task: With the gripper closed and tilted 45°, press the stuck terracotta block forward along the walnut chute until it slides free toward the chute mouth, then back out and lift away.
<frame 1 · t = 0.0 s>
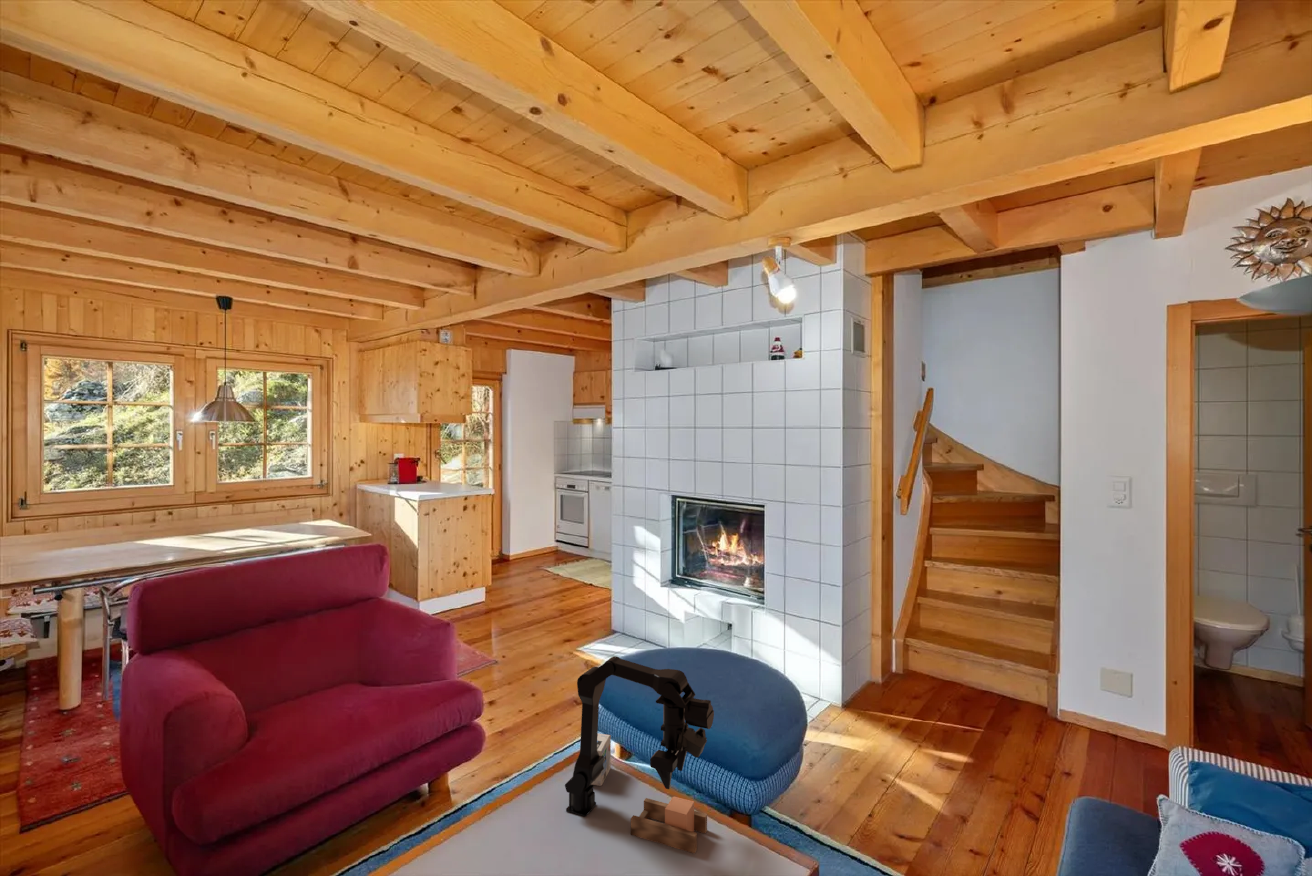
hand: (674, 779, 160), 15 cm above the table, tool pointing down, fingers open, 9 cm apart
walnut chute: (669, 833, 160), on the table
light bulb box: (596, 776, 187), on the table
terracotta block: (679, 820, 159), point 4 cm above the table, slide at 0.0 cm
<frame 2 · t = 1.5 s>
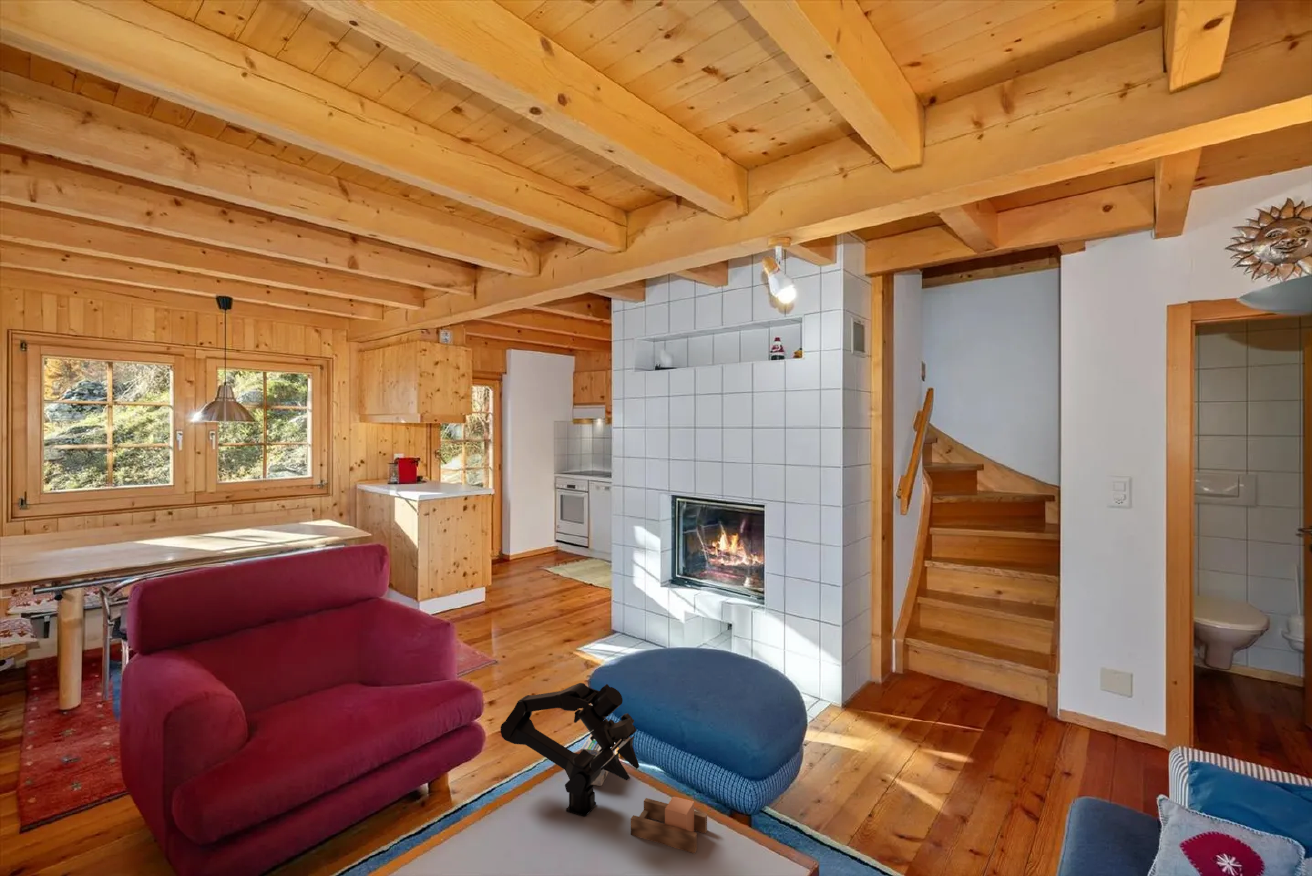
hand: (633, 773, 164), 14 cm above the table, tool tilted 45°, fingers open, 6 cm apart
nothing on the table moved.
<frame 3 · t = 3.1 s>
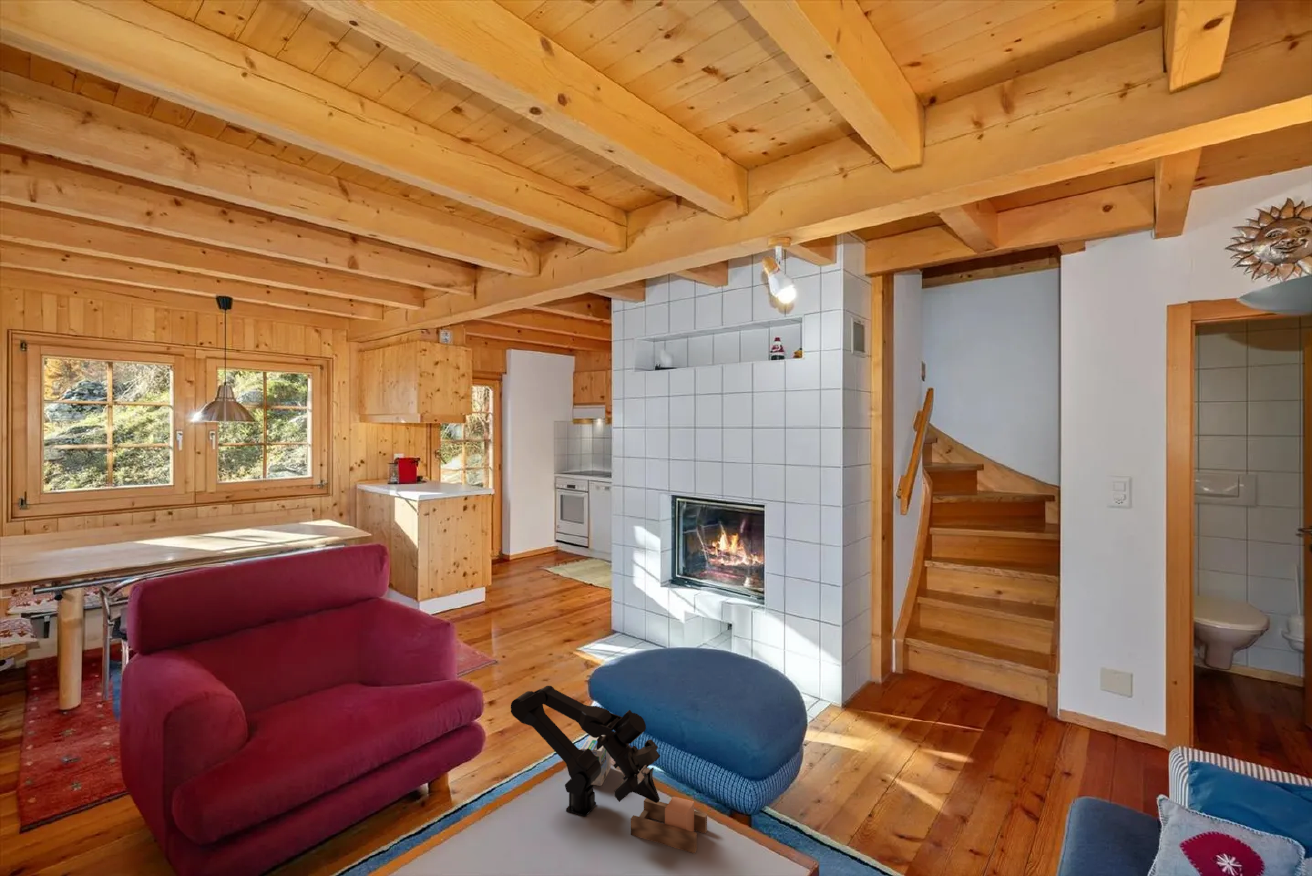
hand: (658, 801, 161), 8 cm above the table, tool tilted 45°, fingers closed
nothing on the table moved.
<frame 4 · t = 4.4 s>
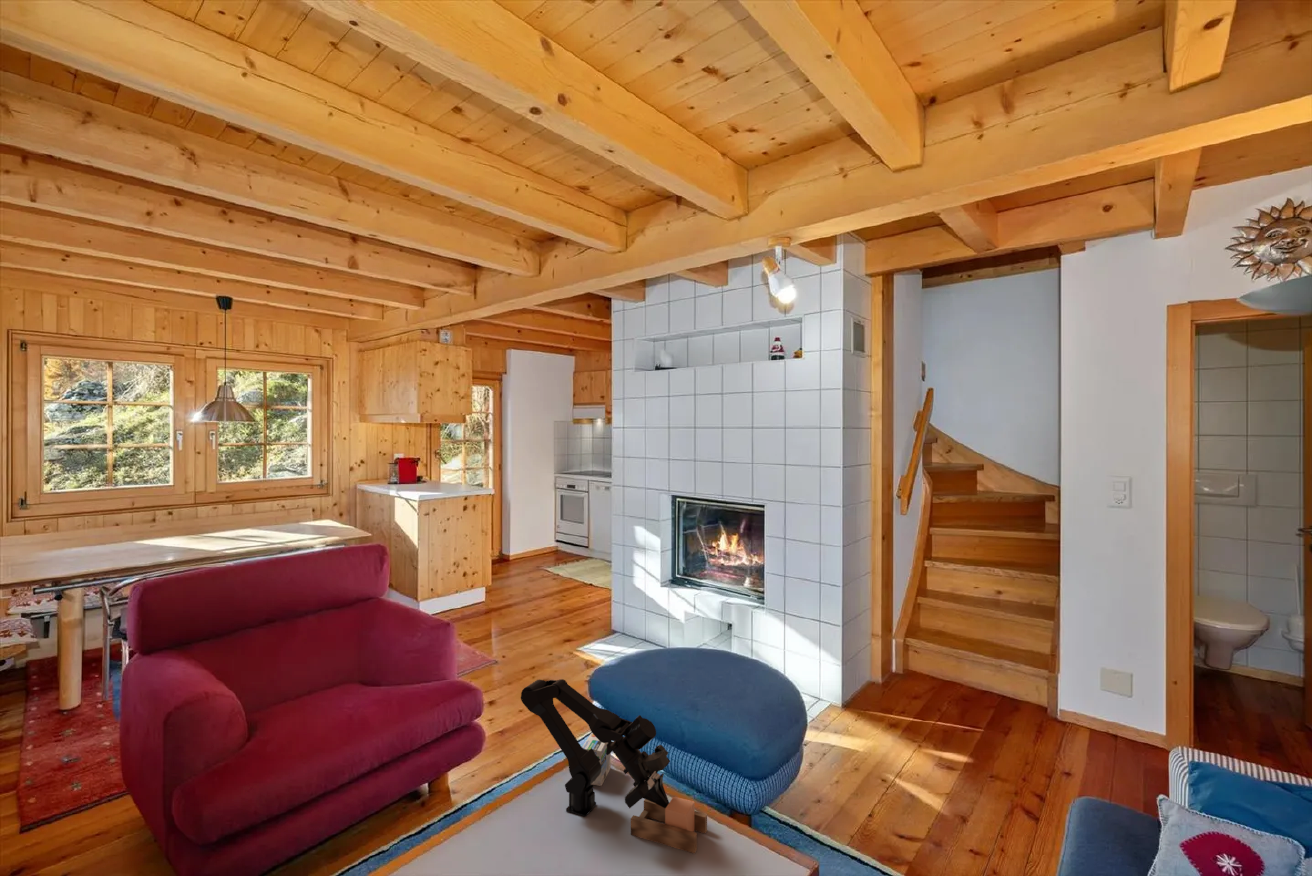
hand: (668, 807, 160), 7 cm above the table, tool tilted 45°, fingers closed, pressing on terracotta block
terracotta block: (679, 820, 159), point 4 cm above the table, slide at 0.1 cm, touching gripper
everything else where it was.
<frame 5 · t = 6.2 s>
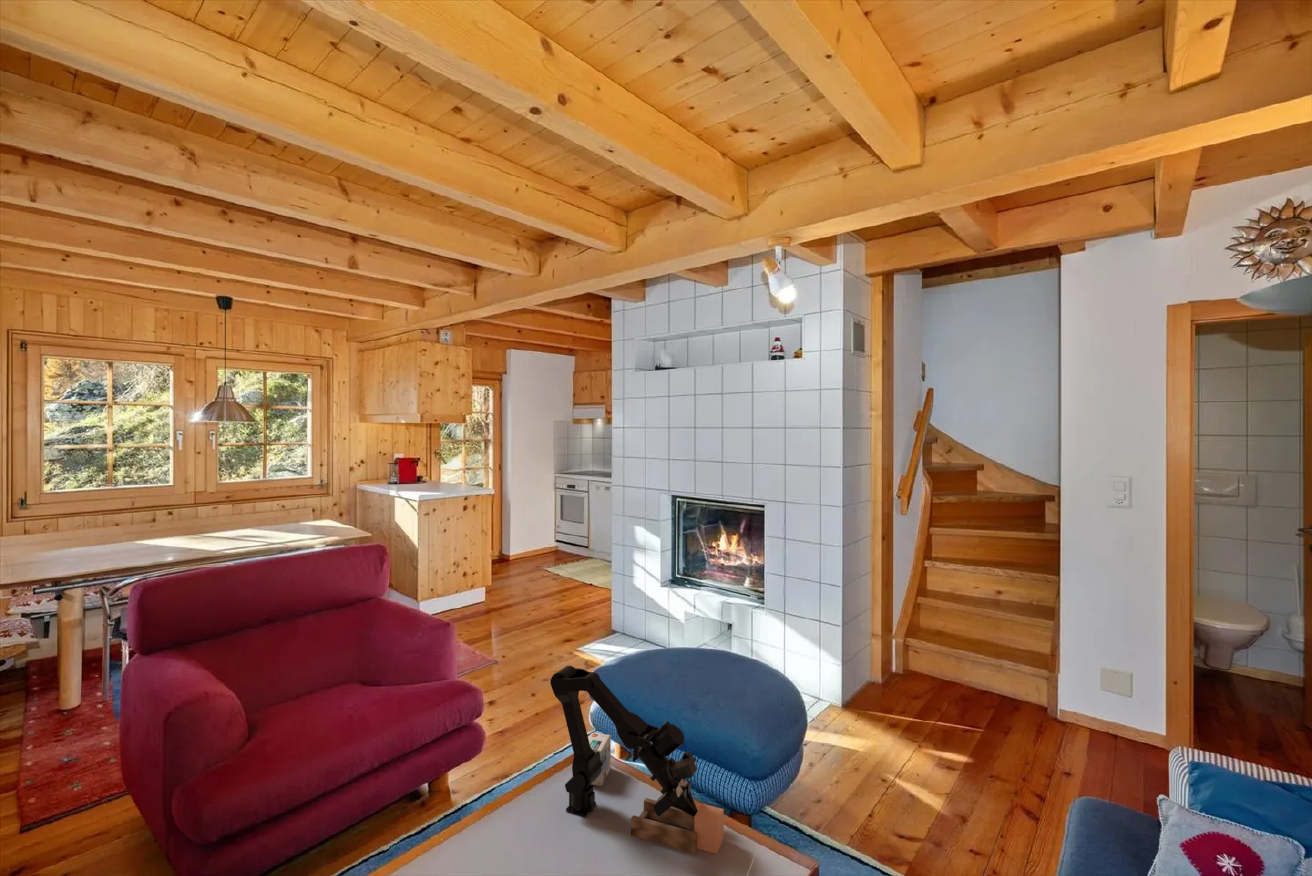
hand: (697, 815, 157), 7 cm above the table, tool tilted 45°, fingers closed
terracotta block: (709, 828, 156), point 4 cm above the table, slide at 8.2 cm
everything else where it was.
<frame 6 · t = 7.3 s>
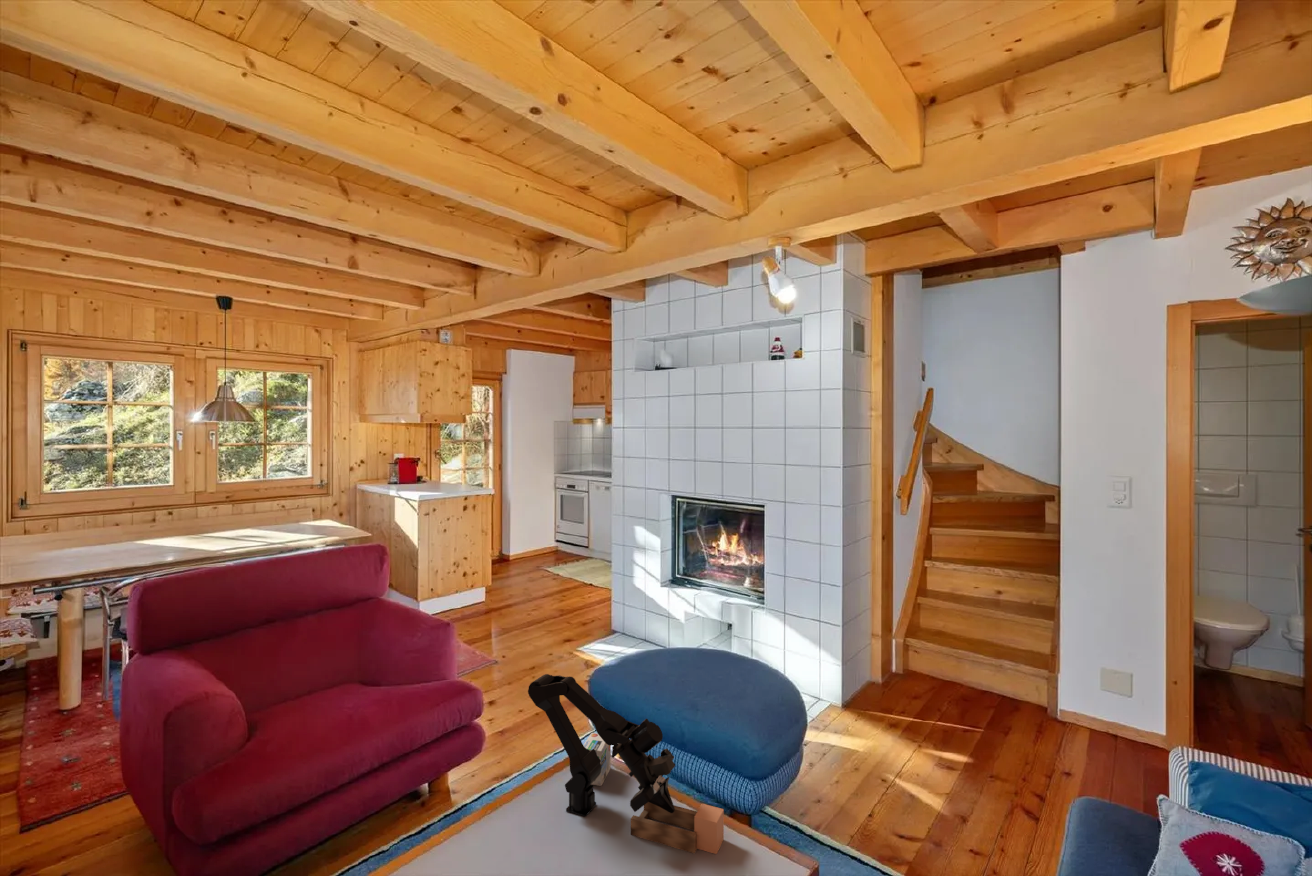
hand: (673, 812, 160), 6 cm above the table, tool tilted 45°, fingers closed
nothing on the table moved.
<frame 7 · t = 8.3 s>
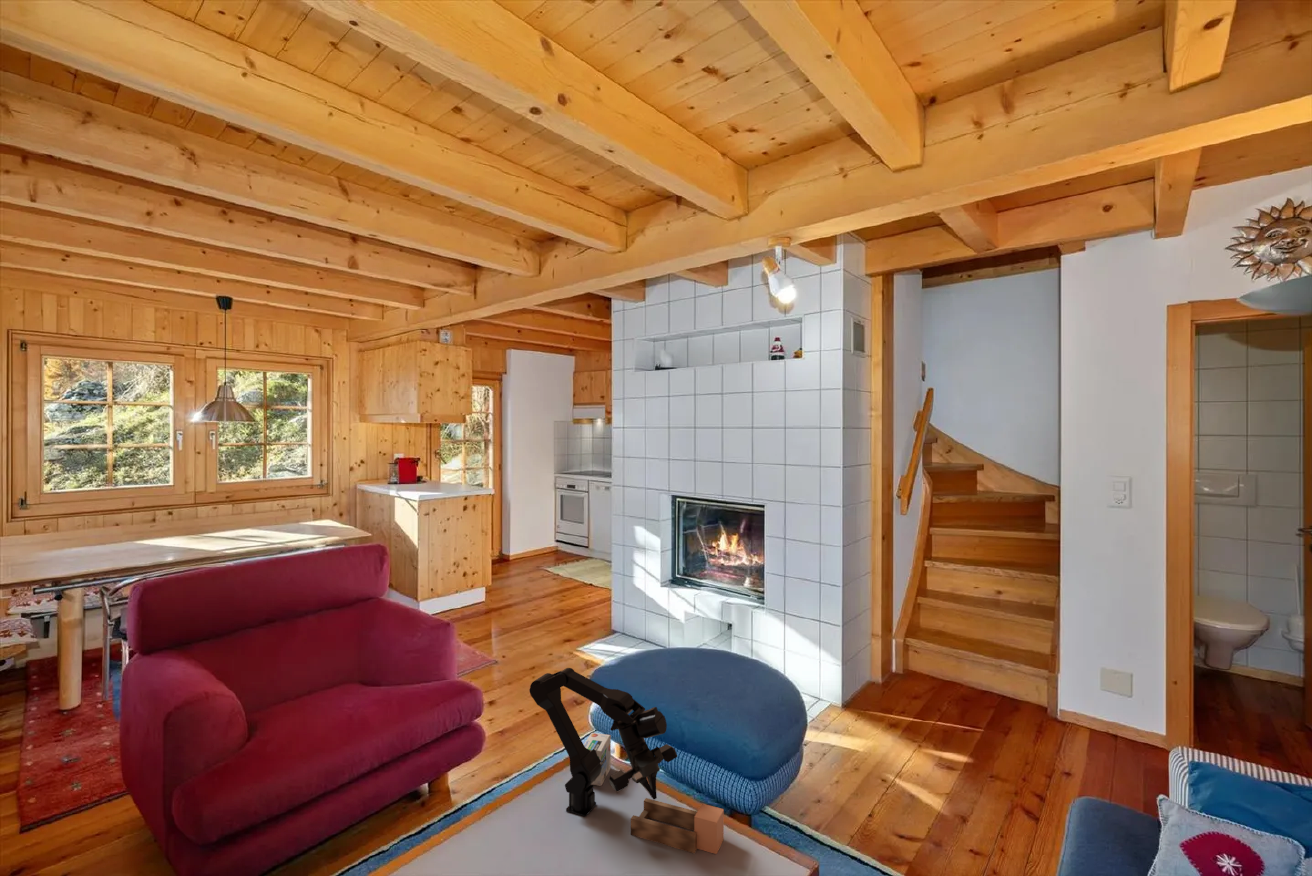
hand: (654, 798, 162), 8 cm above the table, tool tilted 25°, fingers closed
nothing on the table moved.
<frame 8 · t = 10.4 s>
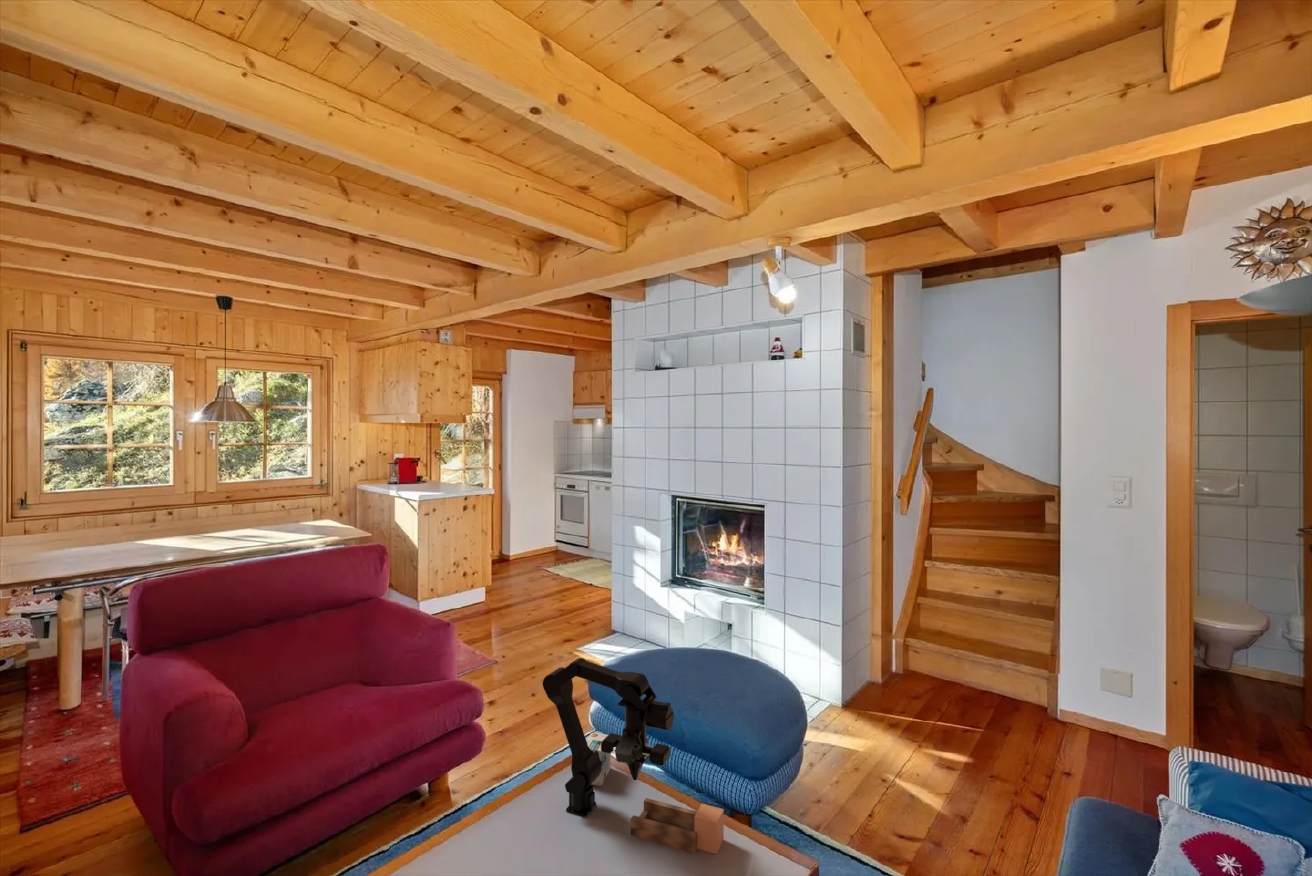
hand: (635, 779, 164), 12 cm above the table, tool pointing down, fingers closed
nothing on the table moved.
at the end: terracotta block slide at 8.2 cm; light bulb box moved 0.3 cm from its start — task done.
